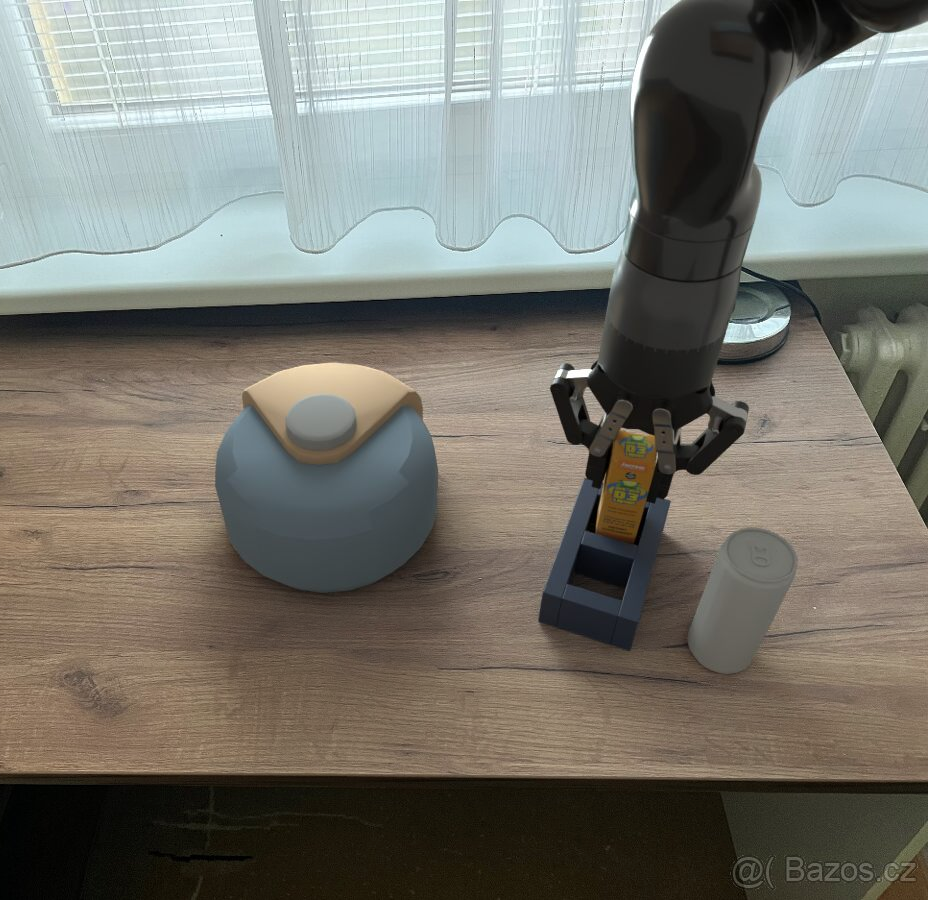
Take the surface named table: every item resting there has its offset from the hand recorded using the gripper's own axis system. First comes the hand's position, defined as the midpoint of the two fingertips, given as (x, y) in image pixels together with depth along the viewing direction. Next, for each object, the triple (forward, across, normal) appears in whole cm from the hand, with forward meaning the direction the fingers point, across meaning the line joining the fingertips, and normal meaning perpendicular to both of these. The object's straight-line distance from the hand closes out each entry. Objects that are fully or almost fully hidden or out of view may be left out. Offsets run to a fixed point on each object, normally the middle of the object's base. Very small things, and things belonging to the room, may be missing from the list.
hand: (625, 487), depth 69 cm
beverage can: (+8, +10, -7) cm, 14 cm away
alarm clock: (+8, -24, -5) cm, 26 cm away
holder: (+8, 0, -3) cm, 8 cm away
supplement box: (+5, 0, 0) cm, 5 cm away
